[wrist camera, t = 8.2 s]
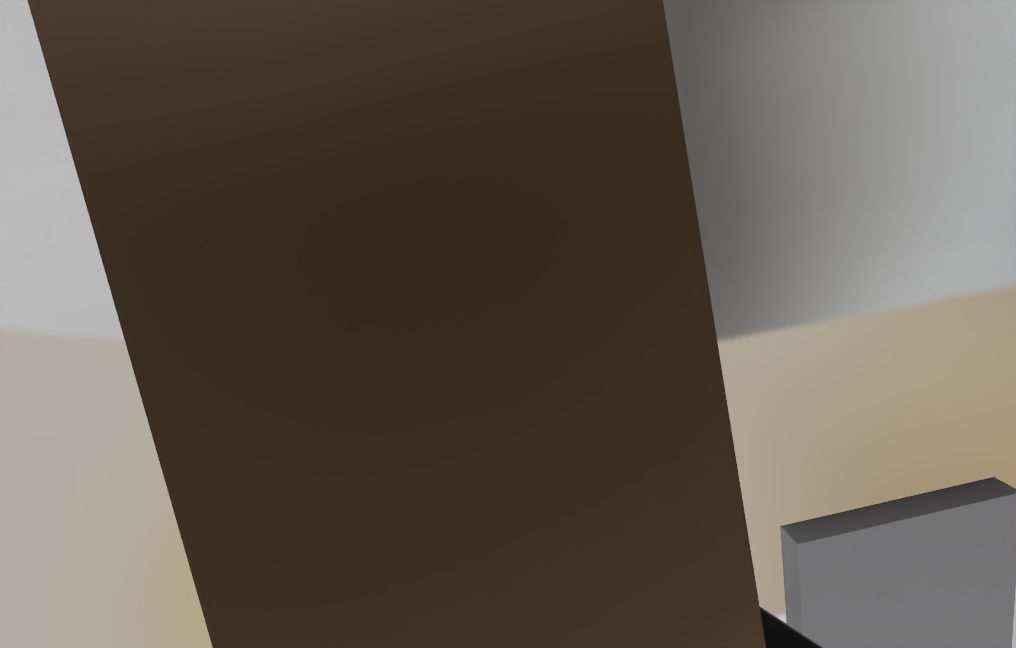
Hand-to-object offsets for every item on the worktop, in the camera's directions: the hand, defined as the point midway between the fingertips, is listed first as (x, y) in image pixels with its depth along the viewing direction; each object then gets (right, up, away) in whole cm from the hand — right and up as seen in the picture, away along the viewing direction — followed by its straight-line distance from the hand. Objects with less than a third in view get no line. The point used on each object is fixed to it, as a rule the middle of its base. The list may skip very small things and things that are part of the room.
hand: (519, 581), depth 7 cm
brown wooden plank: (0, -3, +2) cm, 3 cm away
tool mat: (+15, -13, +15) cm, 25 cm away
